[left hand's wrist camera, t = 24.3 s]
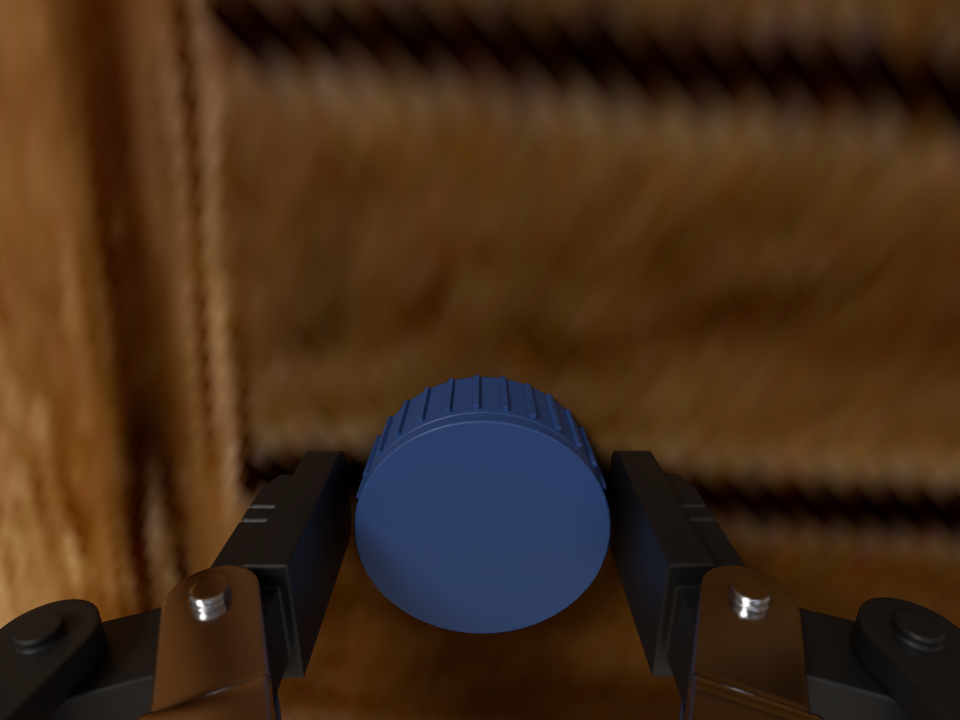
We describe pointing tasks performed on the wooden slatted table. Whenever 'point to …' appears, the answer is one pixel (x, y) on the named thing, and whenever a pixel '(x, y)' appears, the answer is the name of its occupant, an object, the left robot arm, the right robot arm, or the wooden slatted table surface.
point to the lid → (482, 507)
